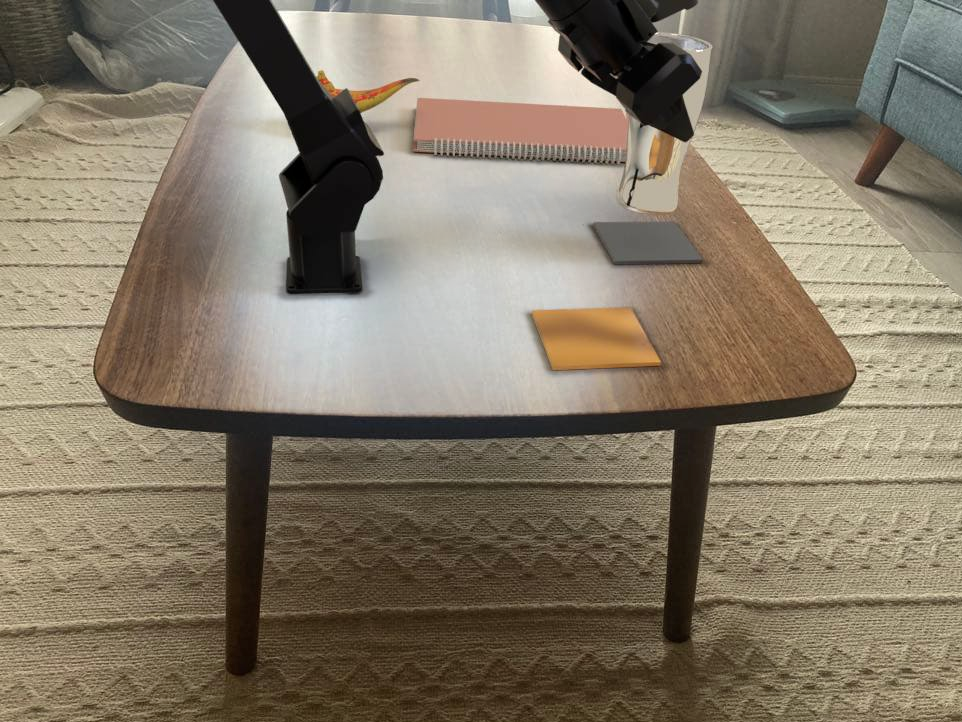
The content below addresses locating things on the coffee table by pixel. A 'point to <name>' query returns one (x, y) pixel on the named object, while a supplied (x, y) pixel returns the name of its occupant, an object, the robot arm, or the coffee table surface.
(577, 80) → the coffee table surface
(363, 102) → the magic lamp
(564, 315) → the honey coaster
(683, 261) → the slate coaster
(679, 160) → the beer glass
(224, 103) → the coffee table surface
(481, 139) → the notebook
